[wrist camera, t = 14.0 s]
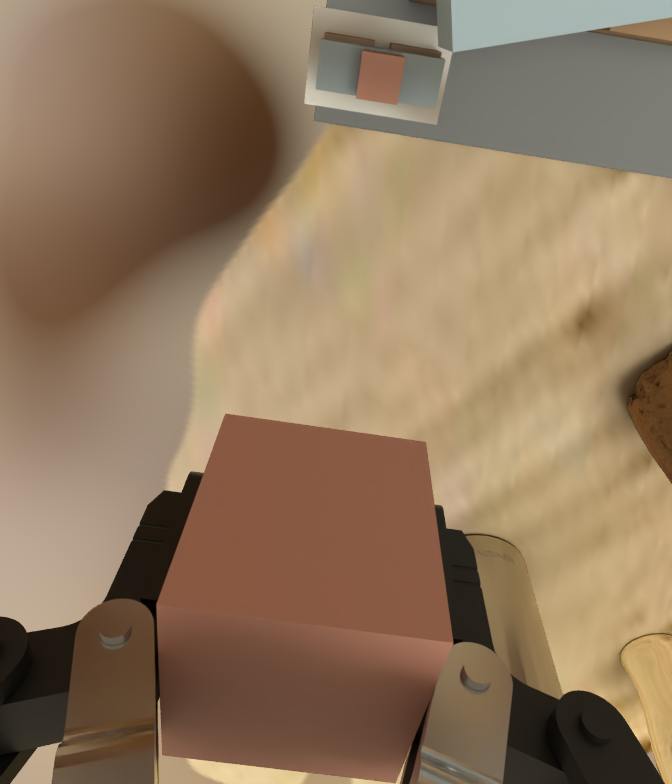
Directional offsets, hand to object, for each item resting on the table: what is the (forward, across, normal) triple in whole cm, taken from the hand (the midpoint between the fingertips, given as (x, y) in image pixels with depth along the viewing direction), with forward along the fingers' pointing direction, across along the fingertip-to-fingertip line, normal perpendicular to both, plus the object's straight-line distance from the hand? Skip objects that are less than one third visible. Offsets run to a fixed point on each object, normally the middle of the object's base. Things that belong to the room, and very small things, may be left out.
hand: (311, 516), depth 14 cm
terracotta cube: (0, 0, 0) cm, 0 cm away
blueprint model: (+25, -1, -8) cm, 26 cm away
